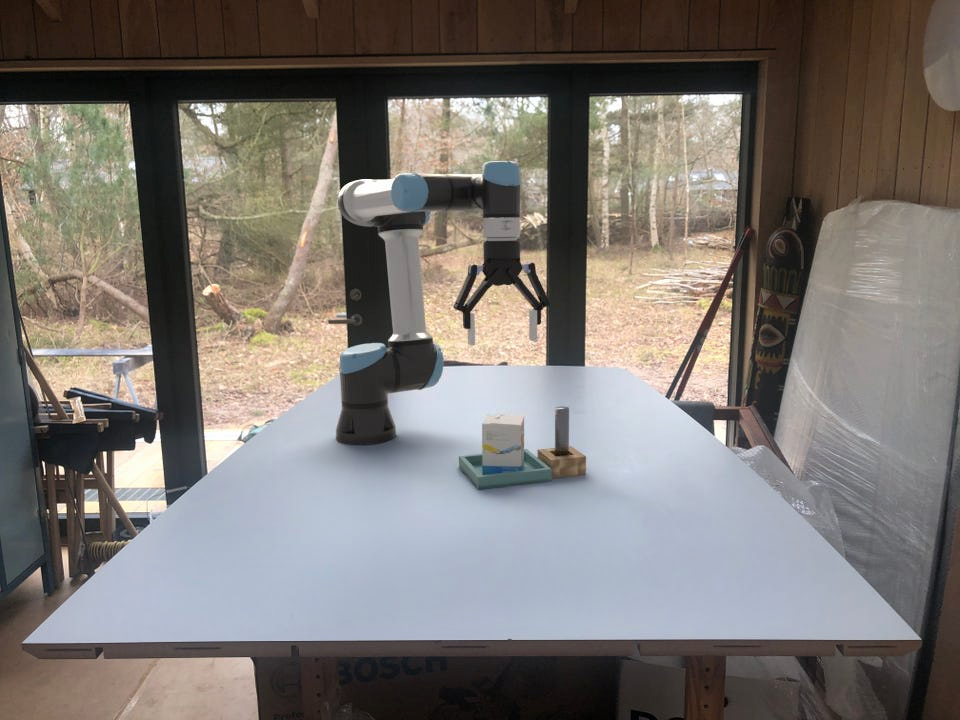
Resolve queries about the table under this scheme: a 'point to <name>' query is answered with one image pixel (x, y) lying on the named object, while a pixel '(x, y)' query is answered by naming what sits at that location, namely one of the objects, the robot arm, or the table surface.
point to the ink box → (502, 444)
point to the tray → (530, 474)
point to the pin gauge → (561, 431)
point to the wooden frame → (564, 462)
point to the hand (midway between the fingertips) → (502, 342)
